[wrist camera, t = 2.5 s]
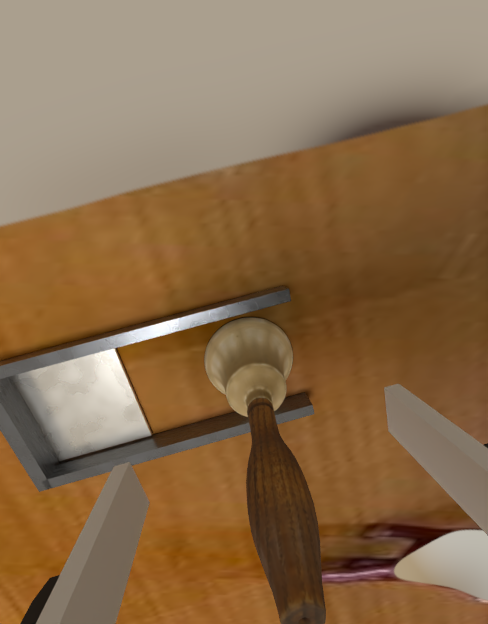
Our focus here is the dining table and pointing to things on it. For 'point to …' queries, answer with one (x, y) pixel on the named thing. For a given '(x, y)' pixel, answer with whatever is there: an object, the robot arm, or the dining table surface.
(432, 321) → the dining table surface
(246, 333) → the hand bell
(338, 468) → the dining table surface
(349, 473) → the dining table surface
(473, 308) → the dining table surface
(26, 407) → the guide channel
